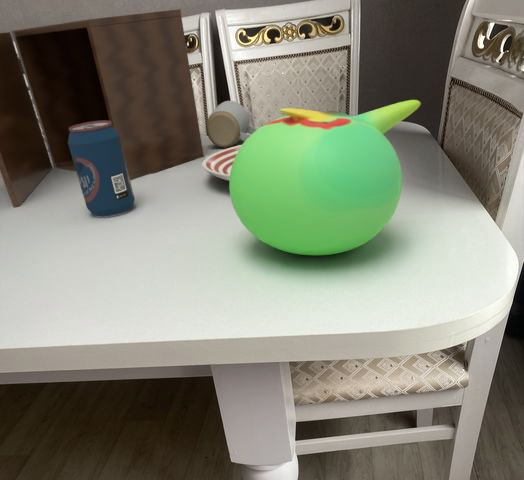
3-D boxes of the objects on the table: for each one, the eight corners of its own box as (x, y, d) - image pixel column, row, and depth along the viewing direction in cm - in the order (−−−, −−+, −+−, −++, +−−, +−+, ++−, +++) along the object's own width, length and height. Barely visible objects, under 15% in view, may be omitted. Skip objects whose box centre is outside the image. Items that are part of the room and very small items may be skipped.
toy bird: (209, 258, 59) (185, 117, 51) (299, 211, 69) (291, 87, 61) (347, 295, 48) (344, 123, 40) (429, 232, 58) (440, 86, 50)
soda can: (80, 215, 77) (54, 129, 71) (118, 201, 81) (97, 118, 75) (107, 222, 73) (82, 131, 67) (146, 207, 77) (126, 120, 71)
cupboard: (127, 181, 91) (88, 19, 78) (53, 167, 107) (10, 30, 94) (203, 156, 101) (180, 9, 88) (126, 146, 117) (96, 20, 104)
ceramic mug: (206, 150, 105) (201, 108, 101) (217, 140, 112) (211, 101, 108) (258, 147, 103) (254, 105, 99) (265, 138, 110) (262, 98, 106)
